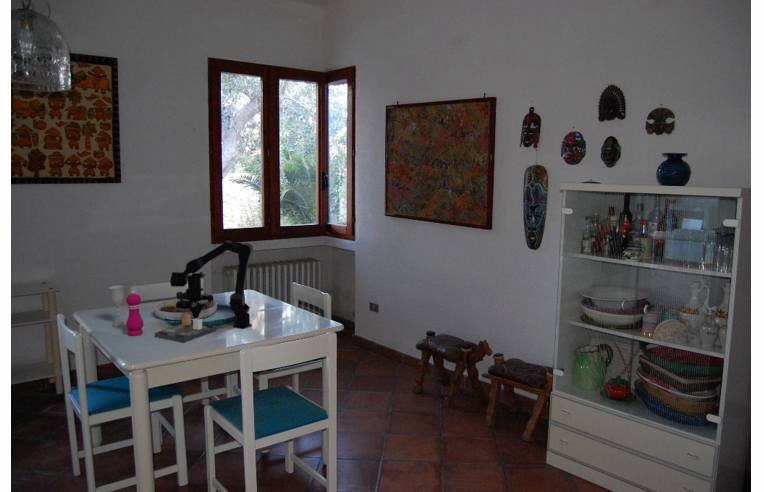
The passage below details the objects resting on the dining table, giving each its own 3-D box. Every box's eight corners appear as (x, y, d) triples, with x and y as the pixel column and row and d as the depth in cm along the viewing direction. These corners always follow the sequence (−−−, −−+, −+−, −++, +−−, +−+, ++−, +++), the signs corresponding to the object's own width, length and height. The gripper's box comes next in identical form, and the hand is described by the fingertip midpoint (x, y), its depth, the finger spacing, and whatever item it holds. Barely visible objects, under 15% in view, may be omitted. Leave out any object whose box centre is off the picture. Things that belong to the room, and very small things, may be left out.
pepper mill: (137, 337, 257) (135, 292, 254) (123, 336, 258) (120, 291, 255) (147, 332, 264) (145, 289, 261) (133, 331, 265) (130, 288, 262)
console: (216, 330, 267) (216, 325, 267) (184, 342, 250) (184, 336, 249) (188, 325, 275) (188, 320, 275) (155, 337, 257) (154, 331, 257)
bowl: (143, 321, 282) (142, 305, 281) (172, 306, 312) (171, 291, 311) (202, 324, 279) (201, 308, 278) (226, 308, 308) (225, 293, 307)
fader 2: (202, 328, 262) (201, 318, 261) (198, 329, 260) (198, 320, 259) (197, 327, 263) (196, 317, 263) (193, 328, 261) (192, 319, 261)
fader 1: (191, 323, 269) (190, 314, 268) (187, 325, 267) (186, 315, 266) (186, 323, 270) (185, 313, 269) (182, 324, 268) (182, 314, 267)
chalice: (130, 323, 277) (128, 286, 274) (118, 327, 271) (116, 289, 268) (119, 321, 280) (117, 285, 278) (107, 325, 274) (104, 287, 271)
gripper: (196, 281, 283) (197, 312, 285) (166, 288, 266) (167, 321, 269) (213, 283, 278) (214, 315, 280) (184, 291, 261) (186, 325, 264)
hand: (195, 319), depth 273 cm, fingers closed
